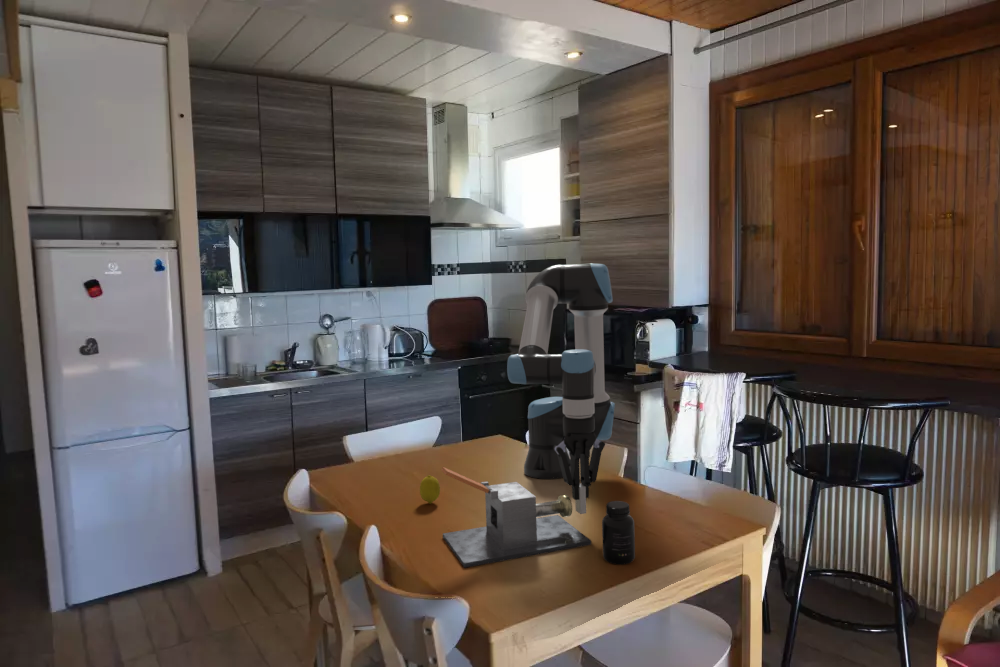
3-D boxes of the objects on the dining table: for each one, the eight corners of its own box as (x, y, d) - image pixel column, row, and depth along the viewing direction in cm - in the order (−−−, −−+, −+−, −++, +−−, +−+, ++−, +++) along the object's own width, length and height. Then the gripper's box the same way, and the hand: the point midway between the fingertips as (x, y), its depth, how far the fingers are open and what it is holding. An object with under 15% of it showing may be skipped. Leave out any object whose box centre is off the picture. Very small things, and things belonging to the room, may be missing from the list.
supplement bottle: (599, 553, 145) (598, 499, 144) (629, 551, 145) (629, 498, 144) (607, 566, 138) (606, 510, 137) (639, 564, 138) (638, 508, 137)
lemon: (437, 507, 177) (436, 478, 177) (417, 506, 179) (416, 477, 178) (443, 500, 183) (441, 472, 182) (424, 499, 184) (422, 471, 183)
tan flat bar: (487, 491, 152) (489, 486, 152) (493, 496, 148) (495, 492, 148) (440, 470, 148) (442, 465, 148) (445, 475, 144) (447, 470, 144)
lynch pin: (563, 512, 159) (563, 492, 159) (572, 519, 155) (572, 498, 154) (503, 522, 154) (502, 501, 154) (510, 529, 149) (509, 507, 149)
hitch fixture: (558, 518, 166) (556, 465, 165) (591, 544, 149) (589, 485, 148) (442, 537, 156) (440, 480, 155) (464, 567, 139) (461, 504, 138)
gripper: (595, 409, 162) (597, 503, 164) (547, 414, 157) (549, 510, 159) (610, 415, 155) (612, 512, 157) (560, 420, 150) (562, 521, 152)
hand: (580, 511), depth 158 cm, fingers closed
